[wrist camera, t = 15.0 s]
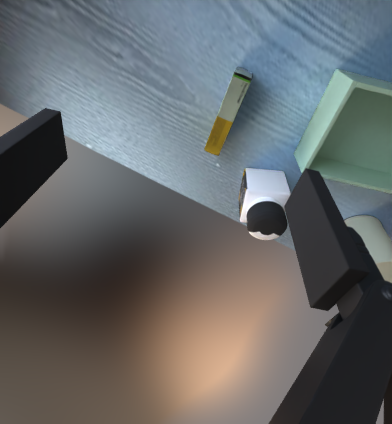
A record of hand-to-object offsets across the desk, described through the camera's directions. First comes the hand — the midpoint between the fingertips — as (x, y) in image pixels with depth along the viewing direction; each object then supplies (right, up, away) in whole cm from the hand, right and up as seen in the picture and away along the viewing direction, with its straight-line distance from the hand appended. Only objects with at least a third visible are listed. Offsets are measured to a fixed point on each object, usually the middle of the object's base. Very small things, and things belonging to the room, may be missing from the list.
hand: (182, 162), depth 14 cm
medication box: (+6, +13, +26) cm, 30 cm away
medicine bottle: (+13, +2, +34) cm, 37 cm away
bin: (+29, +10, +26) cm, 40 cm away
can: (+34, -7, +40) cm, 53 cm away
